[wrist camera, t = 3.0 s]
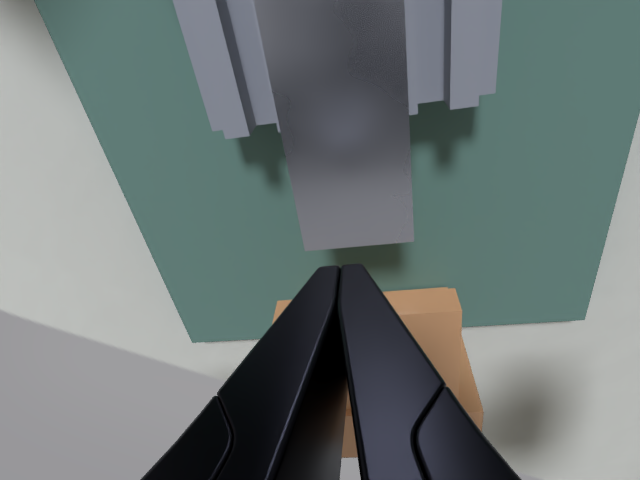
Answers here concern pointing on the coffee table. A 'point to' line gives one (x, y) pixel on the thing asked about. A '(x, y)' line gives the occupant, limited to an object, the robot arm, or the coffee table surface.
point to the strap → (342, 116)
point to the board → (425, 145)
